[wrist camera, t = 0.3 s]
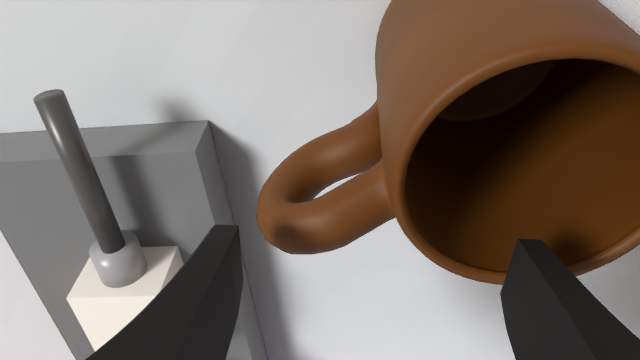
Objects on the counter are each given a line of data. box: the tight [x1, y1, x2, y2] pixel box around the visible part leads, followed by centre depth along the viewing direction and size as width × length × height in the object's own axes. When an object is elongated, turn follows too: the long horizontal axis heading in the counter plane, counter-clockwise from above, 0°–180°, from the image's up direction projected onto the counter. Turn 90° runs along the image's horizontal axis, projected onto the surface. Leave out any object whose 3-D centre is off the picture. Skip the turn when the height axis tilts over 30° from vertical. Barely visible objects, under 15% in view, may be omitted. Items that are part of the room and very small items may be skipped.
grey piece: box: [0, 121, 268, 360], centre depth 27 cm, size 18×10×6 cm, turn 6°
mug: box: [256, 0, 640, 285], centre depth 18 cm, size 12×8×9 cm, turn 113°
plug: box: [33, 89, 184, 351], centre depth 22 cm, size 12×4×3 cm, turn 6°
